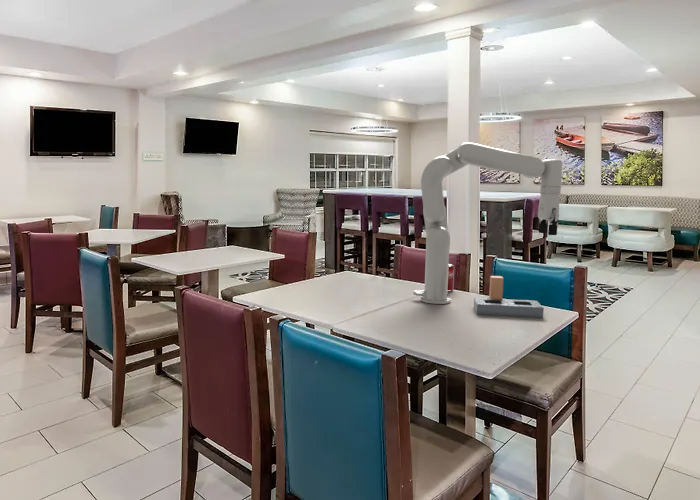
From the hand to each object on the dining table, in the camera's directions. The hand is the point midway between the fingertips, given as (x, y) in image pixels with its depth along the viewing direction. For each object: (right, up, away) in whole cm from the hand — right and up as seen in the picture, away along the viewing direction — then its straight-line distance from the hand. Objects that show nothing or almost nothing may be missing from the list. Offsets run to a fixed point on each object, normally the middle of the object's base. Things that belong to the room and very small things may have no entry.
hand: (547, 233), depth 203 cm
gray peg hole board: (-19, -31, -8) cm, 37 cm away
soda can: (-35, -26, +34) cm, 55 cm away
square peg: (-20, -29, +4) cm, 36 cm away
